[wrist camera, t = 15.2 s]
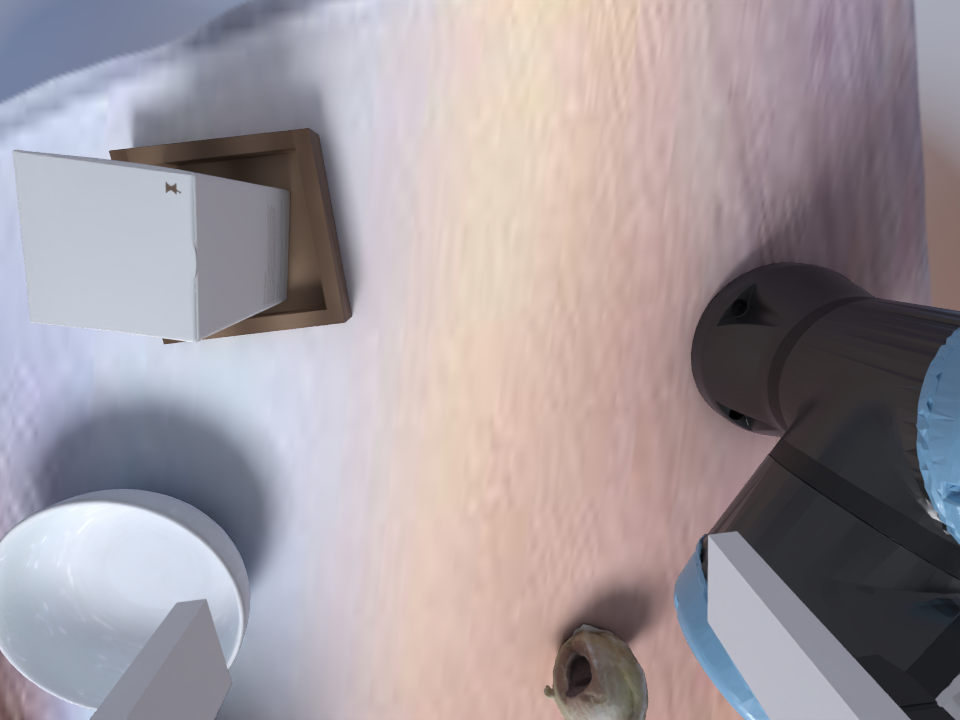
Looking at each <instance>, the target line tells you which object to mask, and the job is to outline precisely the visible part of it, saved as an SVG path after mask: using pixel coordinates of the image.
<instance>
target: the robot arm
mask: <svg viewBox="0 0 960 720" xmlns="http://www.w3.org/2000/svg"><path fill="white" fill-rule="evenodd" d="M691 365H692V372H693V376H694V380H695V383H696V386H697V388H698V390H699V392H700V394H701V395H702V397H703V398H704V400H705V401H706V402H707V403H708V405H709V406H710V407H711V408H712V409H713V410H715V411H716V412H717V413H719V414H720V415H721V416H723V417H724V418H726V419H727V420H728V421H730V422H731V423H733V424H735V425H736V426H738V427H741V428H743V429H745V430H748V431H751V432H754V433H758V434H764V435H770V436H776V437H782V438H781V439H780V440H779V442H778V443H777V444H776V446H775V447H774V448H773V450H772V451H771V452H770V453H769V454H768V455H767V457H766V458H765V459H764V461H763V462H762V463H761V465H760V466H759V467H758V469H757V470H756V471H755V473H754V474H753V475H752V476H751V478H750V479H749V480H748V482H747V483H746V484H745V486H744V487H743V488H742V490H741V491H740V492H739V494H738V495H737V496H736V498H735V499H734V500H733V502H732V503H731V504H730V505H729V507H728V508H727V509H726V511H725V512H724V513H723V515H722V516H721V517H720V519H719V520H718V521H717V523H716V524H715V525H714V527H713V528H712V529H711V531H710V532H709V533H708V534H704V535H703V536H702V537H701V538H700V540H699V541H698V543H697V546H696V550H695V552H694V554H693V555H692V557H691V558H690V560H689V561H688V563H687V564H686V566H685V567H684V569H683V570H682V572H681V573H680V575H679V576H678V578H677V581H676V584H675V588H674V602H675V608H676V611H677V618H678V621H679V624H680V627H681V629H682V632H683V634H684V636H685V638H686V640H687V642H688V644H689V646H690V648H691V650H692V652H693V653H694V655H695V657H696V658H697V660H698V662H699V663H700V665H701V666H702V668H703V669H704V671H705V672H706V674H707V675H708V676H709V678H710V679H711V680H712V682H713V683H714V685H715V686H716V687H717V689H718V690H719V691H720V692H721V693H722V695H723V696H724V697H725V698H726V700H727V701H728V702H729V703H730V704H731V705H732V707H733V708H734V709H735V710H736V711H737V712H738V713H739V714H740V715H741V716H742V717H743V718H744V719H745V720H960V311H955V310H949V309H943V308H936V307H930V306H924V305H917V304H911V303H905V302H899V301H892V300H885V299H879V298H875V297H874V296H872V295H871V294H869V293H868V292H867V291H865V290H864V289H862V288H861V287H859V286H857V285H856V284H854V283H853V282H851V281H850V280H849V279H847V278H846V277H844V276H843V275H841V274H839V273H837V272H835V271H833V270H830V269H827V268H824V267H820V266H815V265H808V264H799V263H776V264H770V265H766V266H762V267H759V268H757V269H754V270H751V271H749V272H747V273H745V274H743V275H742V276H740V277H738V278H737V279H735V280H734V281H732V282H731V283H730V284H728V285H727V286H726V287H725V288H724V289H723V290H722V291H721V292H720V293H719V294H718V295H717V296H716V297H715V298H714V299H713V301H712V302H711V303H710V304H709V306H708V307H707V309H706V310H705V312H704V314H703V315H702V317H701V319H700V321H699V324H698V326H697V329H696V332H695V335H694V339H693V344H692V351H691ZM231 685H232V681H231V678H230V675H229V671H228V668H227V665H226V662H225V658H224V655H223V652H222V648H221V645H220V642H219V639H218V635H217V632H216V629H215V625H214V622H213V619H212V616H211V612H210V609H209V606H208V602H207V599H200V600H192V601H184V602H177V603H176V604H175V605H174V607H173V608H172V609H171V611H170V612H169V613H168V615H167V616H166V617H165V619H164V620H163V621H162V623H161V624H160V626H159V627H158V628H157V630H156V631H155V632H154V634H153V635H152V636H151V638H150V639H149V640H148V642H147V643H146V644H145V646H144V647H143V648H142V650H141V651H140V652H139V654H138V655H137V656H136V658H135V659H134V660H133V662H132V663H131V664H130V666H129V667H128V669H127V670H126V671H125V673H124V674H123V675H122V677H121V678H120V679H119V681H118V682H117V683H116V685H115V686H114V687H113V689H112V690H111V691H110V693H109V694H108V695H107V697H106V698H105V699H104V701H103V702H102V703H101V705H100V706H99V708H98V709H97V710H96V712H95V713H94V714H93V716H92V717H91V718H90V720H214V719H215V717H216V715H217V713H218V711H219V709H220V707H221V705H222V703H223V701H224V699H225V697H226V695H227V693H228V691H229V689H230V687H231Z"/></svg>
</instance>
